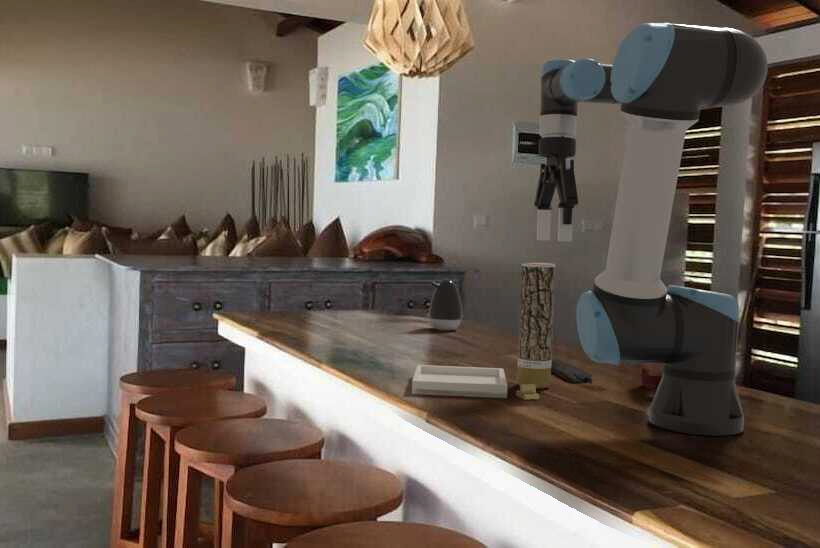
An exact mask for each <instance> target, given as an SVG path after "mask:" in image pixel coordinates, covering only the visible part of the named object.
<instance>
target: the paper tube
mask: <svg viewBox="0 0 820 548" xmlns="http://www.w3.org/2000/svg"><path fill="white" fill-rule="evenodd" d="M556 269H557V266H556V263H551V262H550V263H547V262H522V263H521V273H520V295H519V297H520V298H519V319H518V320H519V321H518V345H517V350H518V351H517V370H516V371H517V372H516V383H517V385H518V386H519V387H520V384H536V390H538V389H539V390H542V389H548V388H549V387H550V385H551V381H552V380H551V377H552V372H551V362H552V360H553V358H552V357H553V338H554V336H553V335H554V333H553V332H554V314H555V308H554V307H555V291H556V289H555V288H556Z"/></svg>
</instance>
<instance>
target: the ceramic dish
mask: <svg viewBox="0 0 820 548" xmlns="http://www.w3.org/2000/svg"><path fill="white" fill-rule="evenodd" d="M507 381H508V380H507V377H506V374H505V370H504V368H502V367H501V368H500V367H499V368H498V367H478V366H476V367H475V366H474V367H473V366H455V365H451V366H450V365H432V364H431V365H430V364H417V365H416V368H415V371H414V374H413V378H412V380H411V395H427V396H428V395H430V396H431V395H432V396H448V397H449V396H451V397H470V398H471V397H473V398H493V399H495V398H496V399H508V382H507Z"/></svg>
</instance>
